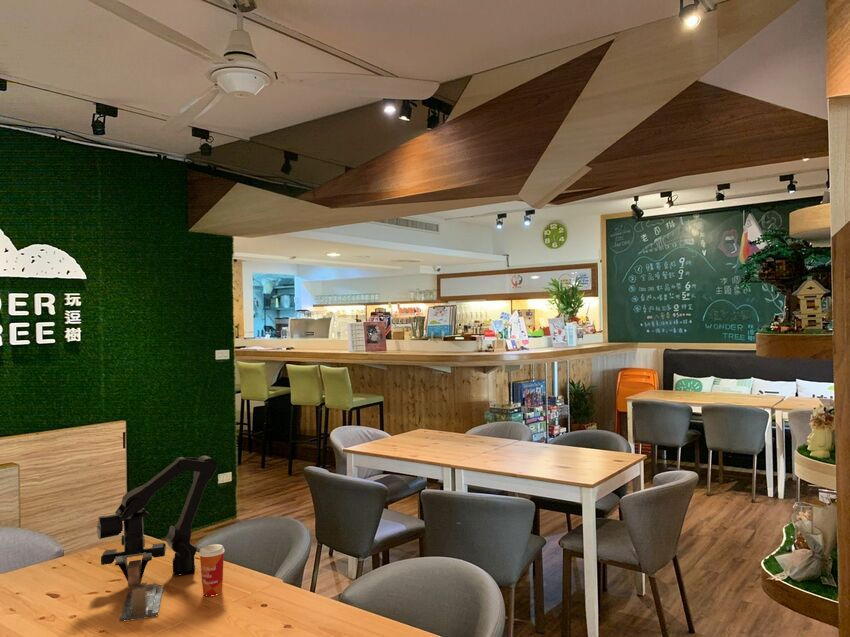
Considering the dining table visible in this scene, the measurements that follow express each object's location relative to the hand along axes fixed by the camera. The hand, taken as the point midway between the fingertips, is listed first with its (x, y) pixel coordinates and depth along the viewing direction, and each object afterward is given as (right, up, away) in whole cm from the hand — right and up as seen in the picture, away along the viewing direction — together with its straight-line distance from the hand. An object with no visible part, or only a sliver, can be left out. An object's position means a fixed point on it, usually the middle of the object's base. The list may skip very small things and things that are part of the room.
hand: (134, 579), depth 200 cm
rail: (+9, -1, -15) cm, 18 cm away
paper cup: (+28, -1, -8) cm, 29 cm away
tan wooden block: (0, -2, 0) cm, 2 cm away
